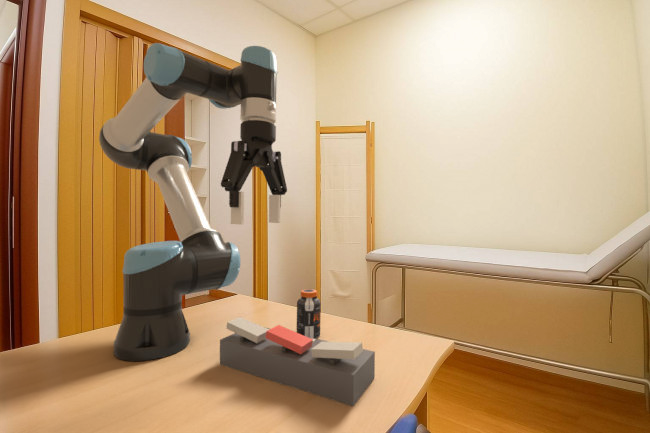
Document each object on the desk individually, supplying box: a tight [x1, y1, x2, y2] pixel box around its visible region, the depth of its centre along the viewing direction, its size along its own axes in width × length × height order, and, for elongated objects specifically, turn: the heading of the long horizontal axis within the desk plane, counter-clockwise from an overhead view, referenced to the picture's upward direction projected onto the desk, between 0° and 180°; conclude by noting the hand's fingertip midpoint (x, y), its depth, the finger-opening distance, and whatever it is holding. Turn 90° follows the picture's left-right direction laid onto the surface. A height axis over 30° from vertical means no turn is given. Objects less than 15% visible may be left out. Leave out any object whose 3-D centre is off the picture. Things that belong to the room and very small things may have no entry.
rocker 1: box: [226, 316, 269, 343], centre depth 66 cm, size 8×4×1 cm, turn 62°
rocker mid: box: [266, 324, 313, 354], centre depth 61 cm, size 8×4×1 cm, turn 62°
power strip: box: [219, 326, 376, 407], centre depth 63 cm, size 29×10×6 cm, turn 62°
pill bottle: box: [296, 288, 322, 339], centre depth 81 cm, size 6×6×11 cm
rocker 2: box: [311, 341, 364, 359], centre depth 56 cm, size 8×4×1 cm, turn 62°
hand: (257, 223), depth 71 cm, fingers open, 12 cm apart
